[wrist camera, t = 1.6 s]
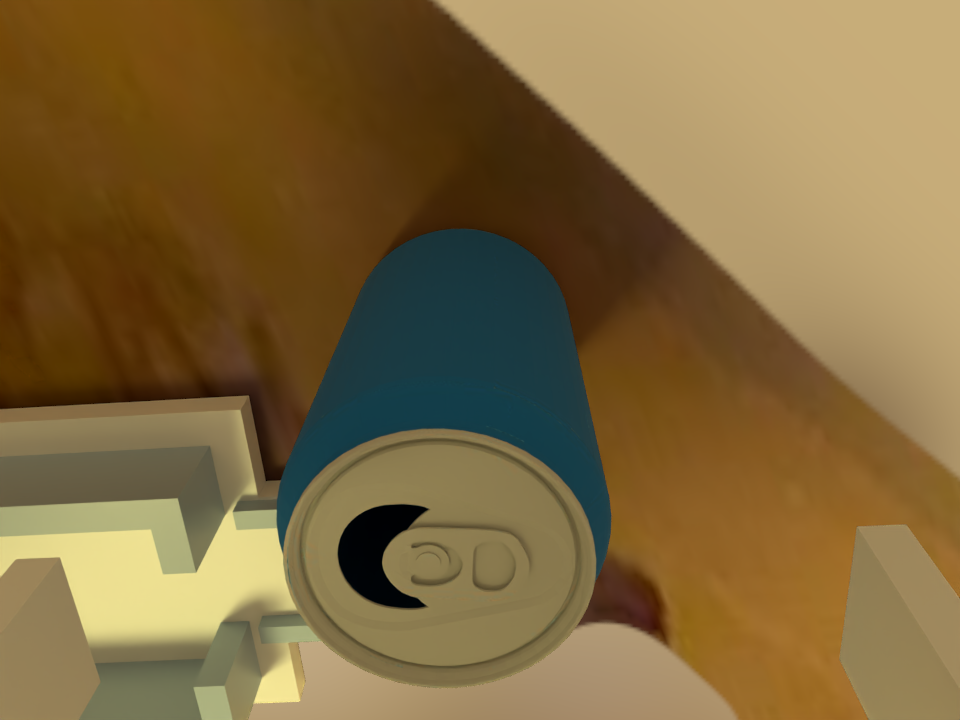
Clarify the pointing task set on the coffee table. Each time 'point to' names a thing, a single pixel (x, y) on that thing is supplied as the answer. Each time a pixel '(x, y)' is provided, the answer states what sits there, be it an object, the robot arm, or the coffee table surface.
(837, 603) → the coffee table surface
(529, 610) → the beverage can
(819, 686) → the coffee table surface
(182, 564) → the dock station
